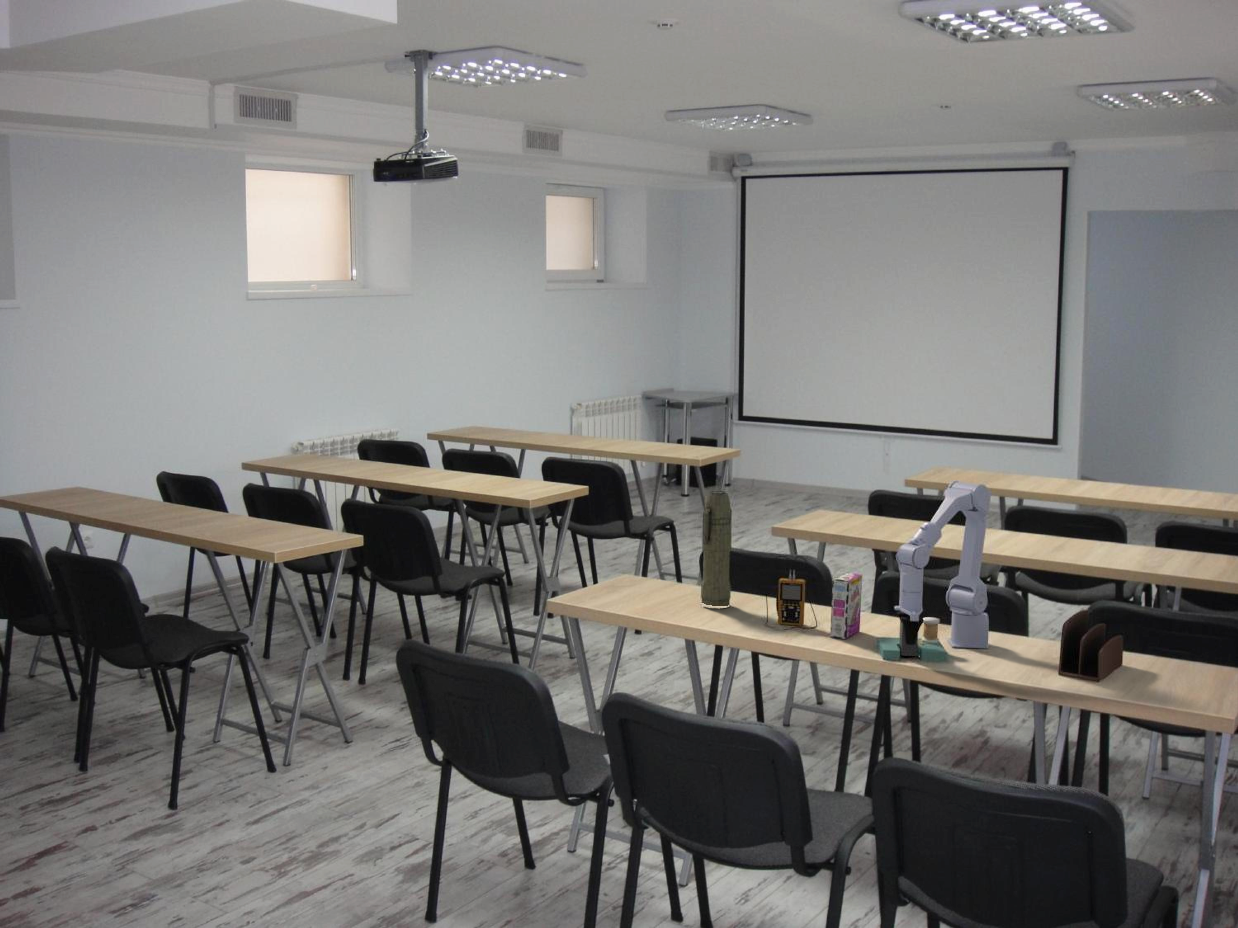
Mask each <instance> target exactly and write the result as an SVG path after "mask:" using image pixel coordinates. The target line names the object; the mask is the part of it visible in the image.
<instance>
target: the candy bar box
mask: <svg viewBox="0 0 1238 928" xmlns="http://www.w3.org/2000/svg"><path fill="white" fill-rule="evenodd" d="M862 585H863V574H858V573H850V572H846V573H844V574H842V575H839V576H837V577H835V578H833V579H832V591H831V610H830V611H831V612H830V613H831V614H830V615H831V616H830V631H829V632H830V633H829V634H830V635H829V637H830V638H833V639H839V640H847V639H849V638H850V637H852V636H854V635H856V634H857V633H859V632H860V630H861V612H862V611H861V610H862V609H861V607H862V589H863V588H862V587H863V586H862Z"/></svg>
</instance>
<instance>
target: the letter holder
mask: <svg viewBox="0 0 1238 928" xmlns="http://www.w3.org/2000/svg"><path fill="white" fill-rule="evenodd" d="M1089 621H1090V610H1088V609H1084V610H1082V609H1081V610H1080V611H1077V612H1075V613H1074V614H1073V615H1072V616H1071V617H1069V618H1068V619H1067V620H1066V621H1065V622H1064V623H1063V625H1062V626H1061V627H1062V628H1061V635H1060V636H1061V637H1060V651H1059V660H1058V661H1059V662H1058V670H1057V671H1058V673H1057V674H1058V676H1060V677H1061V676H1062V677H1067V678H1073V679H1077V680H1083V681H1089V682H1094V683H1100V682H1101V681H1102V680H1104V679H1106V678H1107V677H1108V676H1109V675H1110V674H1113V673H1114V672H1115V671H1116V670H1117V669H1119V668H1120V667H1122V666H1123V665H1124V664H1123V663H1124V662H1123V661H1124V660H1123V659H1124V658H1123V657H1124V637H1123V635H1121V634H1120V635H1117V636H1114V637H1112V638H1111V639H1109V640H1108V641H1106V630H1107V625H1106V624H1105V623H1099V624H1096V625H1094V626H1092V627H1091V628H1089Z"/></svg>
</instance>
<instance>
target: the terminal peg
mask: <svg viewBox="0 0 1238 928" xmlns="http://www.w3.org/2000/svg"><path fill="white" fill-rule="evenodd" d="M899 638H900V639H899V650H900V656H907V657H908V656H910V657H911V656H913V657H914V656H915V657H917V656H918V654H917V646H918V638H919V634H918V635H917V639H916V642H915V645H908V644H906V640H905V631H904V626H903V623H902V621H900V620H899Z"/></svg>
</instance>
